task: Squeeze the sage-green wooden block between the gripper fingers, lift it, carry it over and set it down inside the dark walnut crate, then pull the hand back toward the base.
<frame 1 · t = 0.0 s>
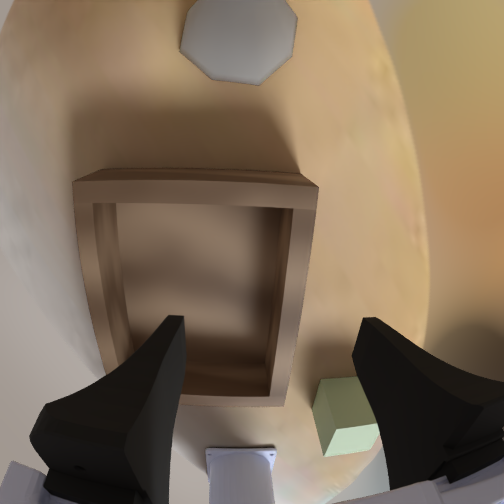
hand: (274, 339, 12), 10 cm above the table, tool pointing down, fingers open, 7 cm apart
walnut crate: (197, 282, 22), on the table
flask: (238, 34, 16), on the table
green block: (338, 393, 28), on the table
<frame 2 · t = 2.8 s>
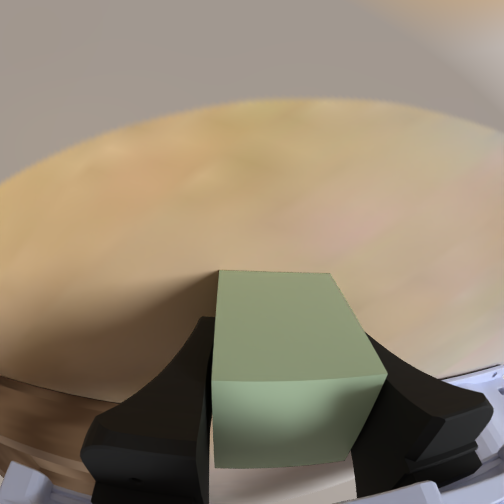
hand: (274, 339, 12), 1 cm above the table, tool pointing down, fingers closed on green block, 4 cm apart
walnut crate: (88, 448, 18), on the table
green block: (271, 318, 14), on the table, touching gripper
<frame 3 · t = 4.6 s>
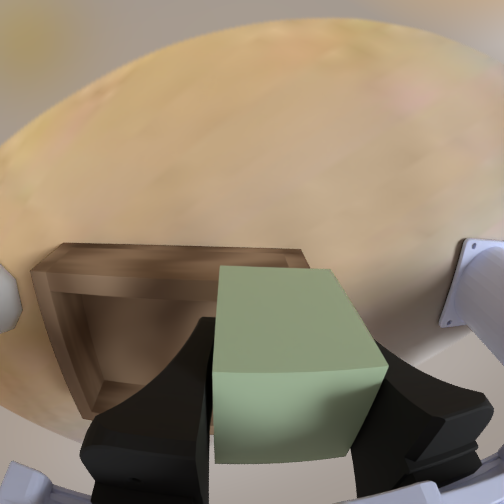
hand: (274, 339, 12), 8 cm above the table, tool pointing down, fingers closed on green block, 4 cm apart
walnut crate: (178, 330, 22), on the table
green block: (271, 314, 14), point 7 cm above the table, touching gripper
when the fingers open (4 cm above the table, at t = 6.8 s): green block drops 2 cm, resting on walnut crate.
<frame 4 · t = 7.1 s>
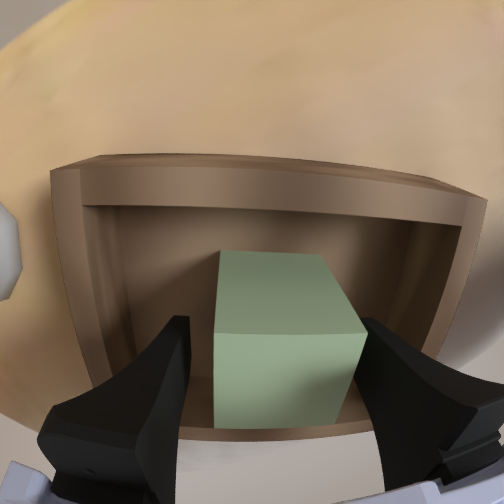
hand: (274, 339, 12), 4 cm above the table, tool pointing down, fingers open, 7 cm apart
walnut crate: (265, 290, 16), on the table
green block: (266, 296, 15), point 1 cm above the table, touching walnut crate
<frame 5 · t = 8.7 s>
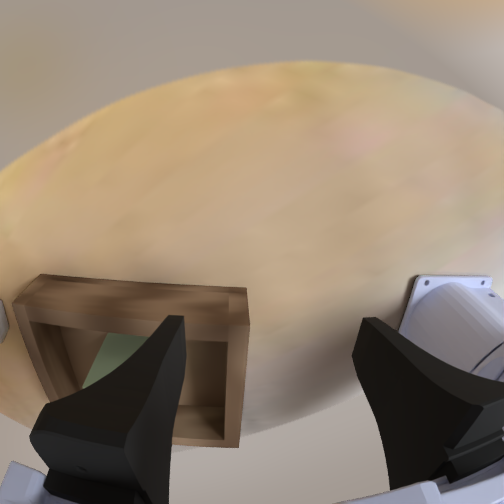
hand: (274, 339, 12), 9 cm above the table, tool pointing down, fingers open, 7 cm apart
walnut crate: (142, 352, 24), on the table
green block: (139, 357, 23), point 1 cm above the table, touching walnut crate
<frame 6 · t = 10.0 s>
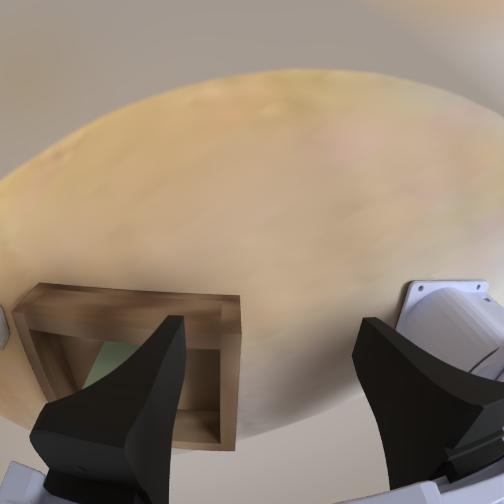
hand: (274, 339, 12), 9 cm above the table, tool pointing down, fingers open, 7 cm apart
walnut crate: (139, 358, 24), on the table
green block: (136, 363, 23), point 1 cm above the table, touching walnut crate
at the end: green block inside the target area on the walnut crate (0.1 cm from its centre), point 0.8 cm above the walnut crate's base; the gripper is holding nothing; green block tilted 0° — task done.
